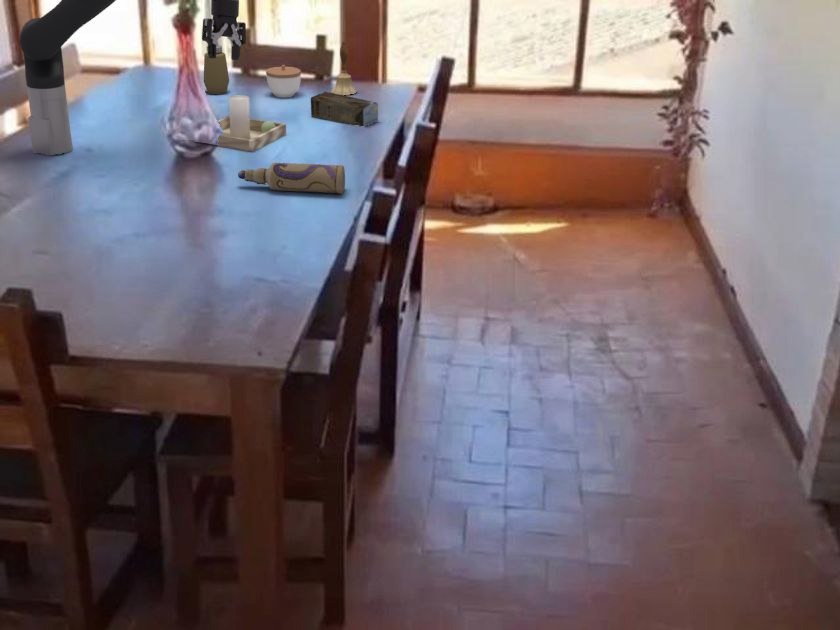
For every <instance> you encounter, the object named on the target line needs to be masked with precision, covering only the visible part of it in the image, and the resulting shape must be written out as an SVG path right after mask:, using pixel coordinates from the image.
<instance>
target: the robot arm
mask: <svg viewBox="0 0 840 630" xmlns="http://www.w3.org/2000/svg"><path fill="white" fill-rule="evenodd" d="M116 1H117V0H60V1H59V3H57V4H56V5H55V6H54V7H53V8H52V9H51V10H49V11H48V12H46V14H44V15H43V16H41V17H35V18H32V19H29V20H28V21H26V22H25V23H24V25H23V26H22V28H21V31H20V34H19V46H20V48H21V52H22V53H23V60H24V61H23V62H24V71H25V72H24V73H25V77H24V78H25V83H26V89H27V90H26V91H27V96H28V97H27V98H28V104H29V111H30V115H29V117H28V119H27V120H28V125H29V126H28V127H29V132H30V141H31V148H32V152H36V153H35V154H38V153H42V154H41V155H43V154H47V155H46V156H49V155H53V156H56V155H55V154H58V155H63V154H62V153H64V154H66V153H67V154H68V153H70V152H71V151H72V150H73V148H74V147H73V140H72V139H73V138H72V132H71V130H72V129H71V122H70V117H69V116H70V114H69V107H68V106H69V105H68V100H67V92H66V91H67V90H66V89H67V88H66V82H65V70H64V68H65V67H64V61H63V51H62V47H63V45H65V44H66V42H68V41H69V39H70V38H71V37H72V36H73V35H74V34H75V33H76V32H78V30H80V29H81V28H83V26H85V25H86V24H88V23H89V22H91V21H92V20H93V19H95V18H96V17H97V16H99V14H101V13H103V12H104V11H105V10H106V9H108V7H110V6H111V5H112V4H114V3H115V2H116ZM210 2H211V3H210V5H211V6H210V14H211V16H212V18H203V19H202V30H201V31H202V32H201V41H202V42H206V44H207V46H208V56H209V58H216V45H215V44H216V42H217V41H218V40H219V39H220V38H221V37H224V38H227V39H228V40H229V41H230V43H231V45H232V46H231V60H232V61H238V60H239V59H240V54H241V53H240V51H241V46H242V45H246V43H247V41H246V40H247V31H246V29H247V28H246V27H247V26H246V22H244V21H243V22H242V21H238V20H237V19H238V17H239V14H240V0H211V1H210ZM69 151H70V152H69Z"/></svg>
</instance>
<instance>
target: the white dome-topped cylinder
mask: <svg viewBox="0 0 840 630" xmlns="http://www.w3.org/2000/svg"><path fill="white" fill-rule="evenodd" d="M250 111H251V109H250V97H249V96H247V95H245V94H240V95H239V94H237V95H230V96H229V97H228V112H229V115H228V116H229V117H230V136H232V137H238V138H245V139H250V118H251V115H250Z"/></svg>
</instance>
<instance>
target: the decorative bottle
mask: <svg viewBox="0 0 840 630" xmlns="http://www.w3.org/2000/svg"><path fill="white" fill-rule="evenodd" d="M345 172H346V171H345V166H344V165H343V164H339V165H338V164H337V165H334V164H319V163H318V164H316V163H295V162H293V163H289V162H272V163H271V164H270V166H269V167H268V168H265V167H263V168H262V167H259V168H256V169H251V168H250V169H246V170H244V169H243V170H240V171H239V172H238V173H237V176H238V178H239V179H241V180H244V181H246V182H250V183H251V182H252V183H255V184H257V185H263V186H264V185H266V186H267V185H268V187H269V189H271V190H273V191H280V192H282V191H283V192H285V191H287V192H304V193H305V192H306V193H325V194H337V195H338V194H339V195H342V194H344V192H345V187H346V186H345V185H346V173H345Z"/></svg>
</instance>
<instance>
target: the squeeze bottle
mask: <svg viewBox="0 0 840 630" xmlns="http://www.w3.org/2000/svg"><path fill="white" fill-rule="evenodd" d="M215 45H216V58H209V56H208V45H207V46H206V51H207V52H206V53H204V59H203V84H204V86H205V89H206V91H207V93H208V94H212V95H223V94H225V93H227V92H228V87H229V84H230V77H229V70H228V64H227V56H226V53H225V52H223V46H222V45H221V44H219V41H218V40H217V42H216V44H215Z"/></svg>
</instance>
